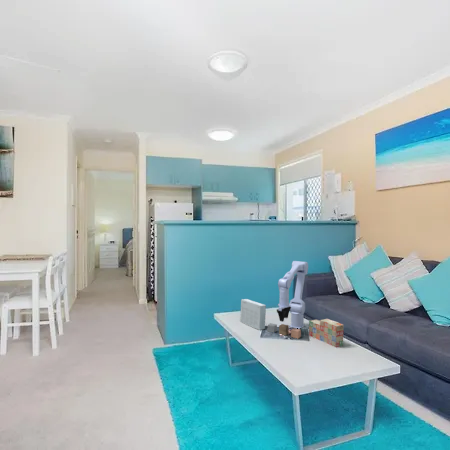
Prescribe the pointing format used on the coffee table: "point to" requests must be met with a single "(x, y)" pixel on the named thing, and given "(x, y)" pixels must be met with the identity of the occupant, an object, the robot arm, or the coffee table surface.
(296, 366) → the coffee table surface
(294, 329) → the terracotta cube
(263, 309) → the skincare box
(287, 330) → the walnut block
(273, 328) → the grey cube
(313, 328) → the stack of blocks
